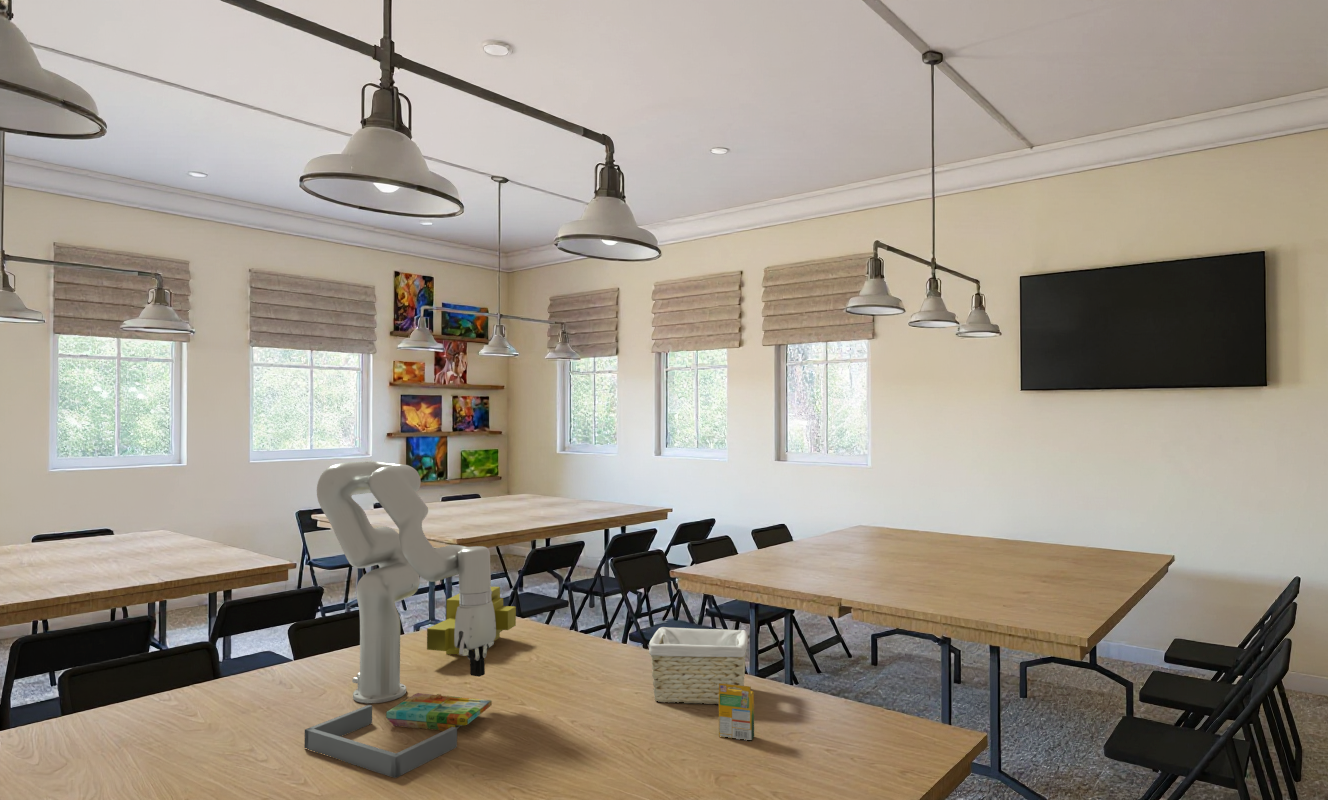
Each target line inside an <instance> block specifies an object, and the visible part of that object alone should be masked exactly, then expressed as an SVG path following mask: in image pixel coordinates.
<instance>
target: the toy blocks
mask: <svg viewBox="0 0 1328 800" xmlns="http://www.w3.org/2000/svg"><path fill="white" fill-rule="evenodd" d="M491 591H492V594H491V601H492V603H493V607H494V613H495V622H496V637H495V639H494V640H493V641H494V642H495V641H497V640H498V639H500V638H501V637H500V635H501V633H502V632H503V631H510V630H511V629H512V628H514V627H516V623H517V609H516V608H517V607H516V606H514V605H513V606H511V605H510V606H509V605H504V597H501V587H500V586H491ZM445 600H446V602H445V603H446V604H445V605H446V606H445V608H446V611H445V612H446V614H445V617H446V618H445V620H442V621H440V622H439V623H435V624H434V625H431V626H429V627H427V628H426V651H438V652H445V655H451V654H458V655H457V656H460V655H459V650H460V648H456V647H455V642H454V634H455V618H456V612H457V607H459V606H460V600H459V593H457V594H455V595H453V596H451V597H449V598H447V599H445ZM472 651H473V650H472Z"/></svg>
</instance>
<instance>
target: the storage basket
mask: <svg viewBox="0 0 1328 800" xmlns="http://www.w3.org/2000/svg"><path fill="white" fill-rule="evenodd" d="M748 638H749V637H748V632H747V630H744V629H740V630H739V629H725V628H724V629H721V628H718V629H715V628H713V629H712V628H710V629H709V628H689V627H688V628H687V627H686V628H685V627H666V626H661V627H659V628H658V629H657V630H656V631H655V632H654V634H653V636H652V638H650V641H649V643H648V647H649V648H648V649H649V651H648V652H649V653H648V654H649V655H650V657H651V669H652V672H651V676H652V679H653V681H652V684H653V695H654V696H653V697H654V700H655V702H657V701H658V702H661V703H665V702H668V703H675V702H677V703H679V702H684V703H683V704H702V703H704V704H703V705H715V704H716V705H719V683H723V684H732V685H741V686H745V675H746V674H745V672H746V668H745V666H746V654H747V648H748V640H749V639H748ZM728 689H735V690H742V689H740V688H736V687H728Z"/></svg>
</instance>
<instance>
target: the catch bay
mask: <svg viewBox="0 0 1328 800" xmlns="http://www.w3.org/2000/svg"><path fill="white" fill-rule="evenodd" d="M371 723H372V724H373V705H371V704H367V705H364V706H362V707H359V708H357V709H355V710H352V711H349V712H347V713H344V714H340V715H339V716H336V717H334V718H331V719H328V720H326V721H324V722H321V723H318V724H315V725H313V726H311V727H308V728H306V729H304V745H303V746H304V748H307V749H309V750H312V751H315V752H314V753H316V752H318V753H317V754H319V753H322V754H325V755H328V756H331V757H334V758H337V759H340V760H342V761H341V762H343V761H345V762H344V763H347V762H348V763H347V764H350V763H351V764H350V765H354V766H356V765H357V766H356V767H359V766H360V767H359V768H362V767H363V768H362V769H365V768H366V770H369V771H372V772H375V773H378V774H381V775H384V776H388V777H391V778H394V779H397V778H399V777H402V775H405V774H406V773H408V772H411V771H412V770H415V769H417V768H418V767H421V766H422V765H424V764H427V763H429V762H430V761H432V760H434V759H437V758H439V757H440V756H443V755H444V754H446V753H448V752H450V751H452V750H454V749H456V748H457V747H458V729H457V728H455V727H451V728H449V729H447V730H445V731H441V732H439V733H436V734H435V735H433V736H430V737H429V738H428V737H427V738H426V739H424V740H422V741H419V742H418V743H416V744H414V745H411V746H409V747H407V748H405V749H403V750H401V751H398V752H396V753H395V752H394V751H393V752H392V751H389V750H386V749H383V748H379V747H375V746H372V745H369V744H366V743H363V742H359V741H356V740H352V739H350V738H345V737H343V736H345V734H346V735H348V734H351V733H353V732H355V731H357V729H358V730H361V729H363V728H365V727H367V725H368V726H369V724H370V725H372V724H371ZM362 727H363V728H362ZM352 731H353V732H352ZM350 732H351V733H350ZM347 733H348V734H347ZM342 735H343V736H342ZM340 736H341V737H340ZM309 750H308V751H309ZM312 751H311V752H312ZM322 754H321V755H322ZM325 755H324V756H325ZM328 756H327V757H328ZM331 757H330V758H331ZM334 758H333V759H334ZM337 759H336V760H337ZM340 760H339V761H340Z"/></svg>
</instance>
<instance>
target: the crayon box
mask: <svg viewBox="0 0 1328 800" xmlns="http://www.w3.org/2000/svg"><path fill="white" fill-rule="evenodd" d="M728 687H736V688H740V689H742V690H735V689H728ZM751 689H752V687H751V685H744V686H741V685H732V684H723V683H719V704H718V737H719V738H725V737H728V738H727V739H732V738H736V739H735V740H740V739H744V740H743V741H747V740H752V741H753V739H754V737H755V699H754V697H755V695H754V690H753V691H752V690H751ZM720 736H721V737H720ZM745 739H746V740H745Z"/></svg>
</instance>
